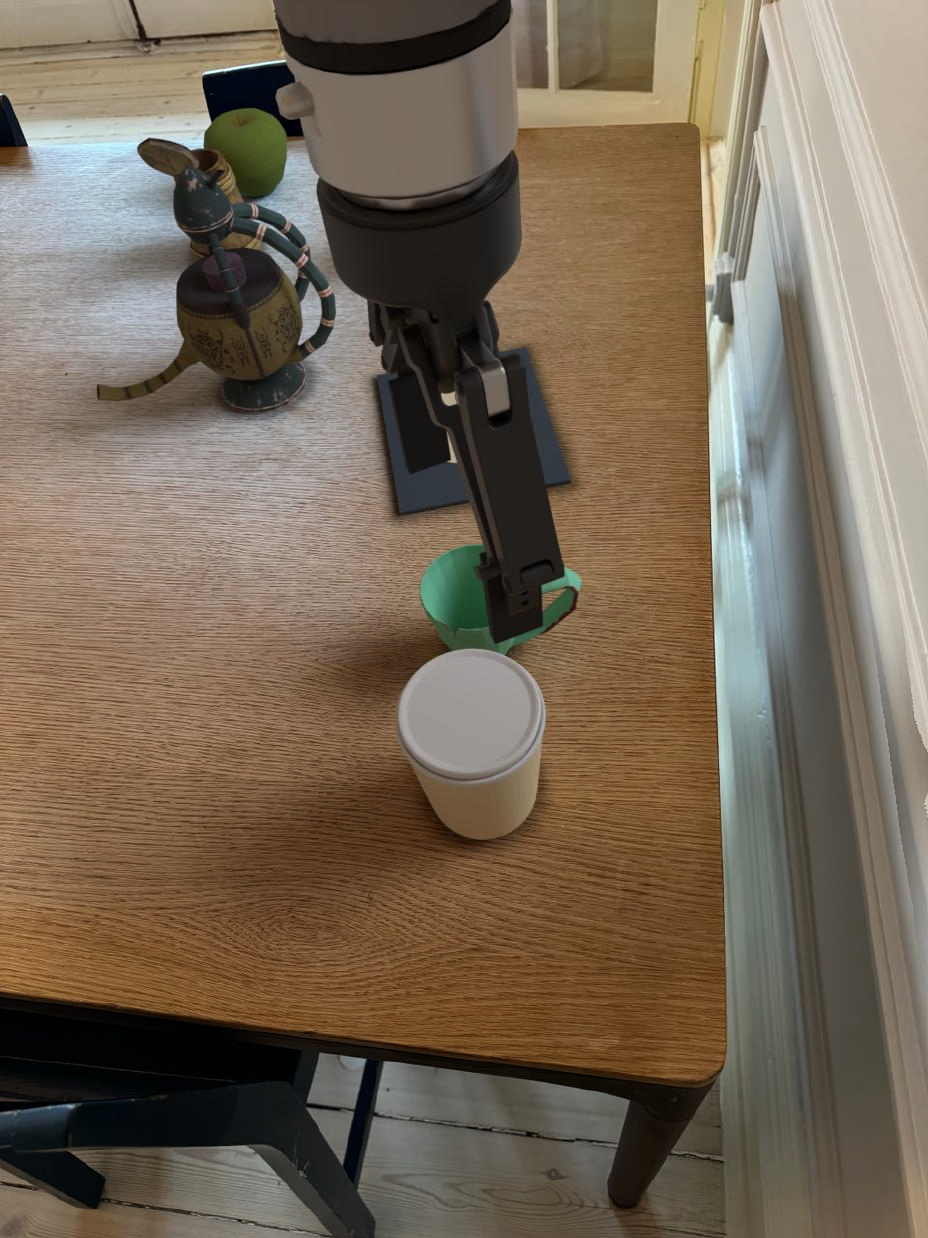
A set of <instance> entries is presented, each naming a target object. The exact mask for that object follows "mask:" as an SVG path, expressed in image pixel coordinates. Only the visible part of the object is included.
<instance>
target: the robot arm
mask: <svg viewBox="0 0 928 1238" xmlns="http://www.w3.org/2000/svg"><path fill="white" fill-rule="evenodd" d="M272 4H273V8H274V11H273V12H274V17H275V18H274V19H275V22H276V24H277V28H278V33H279V38H280V42H281V45H282V47H283V51H284V57H285V62H286V66H287V68H288V70H289V71H290V72H291V74H292V75H293V77H294V80H295V81H294V82H291V83H289V84H287V85H285V86H282V87H280V88H278V89H277V90H276V93H275V101H276V103H277V107H278V110H279V115H280V116H281V117H283V118H285V119H286V120H297V119H300V125H301V129H302V133H303V134H302V135H303V138H304V143H305V146H306V150H307V154H308V159H309V163H310V165H311V168H312V169H313V172H314V173H315V174H316V175H317V176H318V179H317V183H316V187H315V189H316V190H315V193H316V198H317V202H318V206H319V210H320V214H321V218H322V221H323V222H322V223H323V226H324V231H325V235H326V239H327V243H328V248H329V251H330V255H331V259H332V263H333V267H334V269H335V272H336V274H337V276H338V277H339V279H340V280H341V282H342V284H344V285H345V286H346V287H347V288H348V289H349V290H350V291H351V292H353V293H354V294H356V295H358V296H359V297H361V298H363V299H365V300H366V305H367V318H368V320H367V321H368V330H369V332H368V337H369V340H370V342H372V343H373V346H374V347H375V348H378V347H382V348H381V352H380V364H381V367H382V369H383V371H385V372H386V373H385V374H388V375H391V374H394V378H395V379H393V380H390V381H388V385H389V389H390V394H391V399H392V404H393V408H394V413H395V418H396V422H397V427H398V432H399V436H400V441H401V446H402V451H403V455H404V460H405V465H406V468H407V470H408V472H409V474H413V473H416V472H419V471H421V470H424V469H427V468H430V467H433V466H436V465H439V464H442V463H445V462H447V461H450V460H451V455H450V448H449V441H448V436H449V439H450V442H451V445H452V448H453V451H454V454H455V457H456V461H457V464H458V467H459V470H460V473H461V476H462V479H463V482H464V486H465V489H466V492H467V495H468V498H469V501H470V502H469V504H470V507H471V511H472V514H473V516H474V520H475V523H476V527H477V530H478V533H479V535H480V538H481V542H482V544H483V545H484V548H485V552H483V553H480V554H479V556H480V563H481V565H478V566H476V567H473V568H474V570H475V573H476V575H477V577H478V579H479V581H480V582H482V581H483V586H484V594H485V602H486V609H487V617H488V625H489V632H490V635H491V637H492V639H493V641H494V643H495V644H498V643H500V642H503V641H506V640H508V639H511V638H514V637H516V636H519V635H522V634H524V633H527V632H529V631H532V630H535V629H537V628H540V627H543V610H544V608H543V594H542V585H544V584H547V583H550V582H552V581H555V580H558V579H560V578H563V577H564V576H565V571H564V567H565V562H564V560H563V558H562V557H563V556H562V553H561V548H560V543H559V539H558V535H557V534H558V533H557V530H556V526H555V521H554V517H553V512H552V507H551V503H550V499H549V493H548V489H547V487H546V484H545V480H544V475H543V471H542V466H541V462H540V457H539V453H538V448H537V443H536V439H535V434H534V430H533V425H532V421H531V416H530V410H529V399H528V389H527V378H526V366H525V363H524V361H523V360H522V359H521V357H520V355H519V354H518V353H517V352H514V353H511V354H508V355H505V356H502V357H501V356H500V352H501V351H500V349H499V345H498V344H499V343H498V342H499V339H500V338H499V337H500V328H499V326H498V322H497V319H496V315H495V312H494V309H493V306H492V304H491V302H490V301H489V300H488V299H486V298H487V296H488V295H489V294H490V293H491V290H492V289H493V288H494V287H495V286H496V285H497V283H498V282H499V281H501V279H502V278H503V277H504V276H505V275H507V273H508V272H509V270H510V269H511V268H512V267H513V265H514V264H515V262H516V260H517V258H518V256H519V254H520V252H521V248H522V241H523V234H522V233H523V232H522V212H521V211H522V210H521V208H522V207H521V187H520V186H521V185H520V169H519V168H520V165H519V160H518V157H517V154H516V151H514V150H513V149H514V148H515V147H516V145H517V140H518V133H519V128H520V125H519V124H520V123H519V104H518V103H519V102H518V84H517V82H518V81H517V62H516V61H517V60H516V59H517V58H516V40H515V39H516V38H515V16H514V15H515V14H514V13H515V12H514V7H513V4H512V0H272ZM453 392H455V400H456V402H457V404H454V405H451V406H448V405H446V404H445V403H444V401H443V399H442V395H441V393H443V394H449V393H453ZM447 432H448V435H447Z"/></svg>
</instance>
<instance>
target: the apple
mask: <svg viewBox="0 0 928 1238" xmlns="http://www.w3.org/2000/svg"><path fill="white" fill-rule="evenodd" d="M202 147H203V149H206V148H212V149H216V150H218V151H220V152H221V153H222V154H223V156H224V158H225V160H226V162H227V163H228V164H229V165H230V167H231V169H232V172H233V174H234V176H235V180H236V182H235V183H236V186H237V188H238V191H239V193H240V195H243V196H247V197H250V198H260V197H263V196H266V195H269V194H271V193H273V192H274V190H275V189H276V188H277V187H278V186H279V184H280V183H281V182H282V180H283V179H284V175H285V170H286V164H287V159H288V137H287V133H286V130H285V128H284V127H283V126H282V124H281V123H280V121H279V120H278V119H277V118H276V117H275V116H274V115H272V114H271V113H268V112H266V111H264V110H261V109H258V108H255V107H251V108H247V107H246V108H239V109H233V110H230V111H226V112H223V113H221V114H219V116H216V117H215V119H214V120H213V121H212V122H211V123H210V125H208V127H207V129H205V131H204V133H203V146H202Z"/></svg>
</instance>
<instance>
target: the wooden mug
mask: <svg viewBox="0 0 928 1238" xmlns="http://www.w3.org/2000/svg"><path fill="white" fill-rule="evenodd" d="M136 152H137V154H138V155H139V157H140V158H141V160H142V161H143V162H144V163H145V164H146V165H147V166H148V167H150V168H152V169H153V170H156V171H157V172H160V173H162V174H164V175H168V176H170V177H172V178H173V180H174V186H176V183H177V180H178V177H179V175H180V173H181V172H182V171H183V169H184V168H185V167H186V165H187V166H190V167H193V168H196V169H199V170H201V171H202V172H204V173H205V174H206V175H208V176H209V177H211V176H212V175H213V173H214V172H215V171H216V170H221V169H222V170H225V173H223V174H222V175H221V176H220V177H219V178H218V180H217V184H218V185H219V186H220V188H221V189H222V190H223V191H224V193H225V194H226V196H227V198H228V199H229V201H230V203H231V204H235V203H245V202H244V200H243V198H242V194H240V193H239V191H238V188H237V186H236V183H235V182H236V180H235V176H234V174H233V172H232V169H231V167H230V165H229V164H228V163H227V162H226V160H225V158H224V156H223V154H222V153H221V152H220V151H218V150H216V149H212V148H206V149H204V148H194V149H190V148H189V147H187V146H186V145H183V144H181V143H178V142H175V141H172V140H168V139H164V138H156V137H148V138H146V139H144V140H143V141H141V142H140V143H139V144H138V145H137V148H136ZM248 220H252V219H248ZM189 239H190V241H189V247H190V251H191V255H192V258H193V263H194V262H195V261H197V260H198V259H200V258H202V257H204V256H207V255H210V251H209V248H208V247H209V246H208V245H199V244H197V243H195V242H194V241H193V240H192V239H191V238H190V237H189ZM220 244H221V246H222V248H223V249H224V250H227V249H231V248H251V249H256V250H260V251H262V249H263V242H262V241H260V240H258V239H255V238H253V237H251V236H247V235H243V234H239V233H234V232H233V233H231V234H229V235H228V237H227V238H226V239H224V240H223V241H221V242H220Z"/></svg>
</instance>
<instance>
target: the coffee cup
mask: <svg viewBox="0 0 928 1238" xmlns="http://www.w3.org/2000/svg"><path fill="white" fill-rule="evenodd" d="M546 716H547V714H546V703H545V700H544V696H543V693H542V691H541V689H540V687H539V685H538V683H537V681H536V680H535V679H534V677H533V676H532V674H530V673H529V671H528V670H527V669H525V668H524V667H523V666H522V665H521V664H519V663H517V661H515V660H513V659H512V658H510V657H508V656H506V655H505V656H504V655H502V654H499V653H497V652H493V651H489V650H483V649H461V650H456V651H452V650H451V651H448V652H445V653H443V654H440V655H438V656H436V657H434V658H432V659H431V660H428V661H427V662H426V663H425V664H423V665H422V666H421V667H420V668H418V670H416V671H415V673H414V674H412V675H411V677H410V678H409V680H408V681H407V683H406V684H405V686H404V687H403V689H402V690H401V693H400V695H399V697H398V699H397V703H396V707H395V712H394V730H395V736H396V740H397V742H398V745H399V747H400V749H401V751H402V753H403V754H404V756H405V758H406V759H407V760H408V761H409V764H410V765H411V768H412V770H413V772H414V774H415V775H416V778H417V780H418V782H419V783H420V786H421V788H422V790H423V792H424V793H425V795H426V797H427V800H428V801H429V803H430V805H431V807H432V809H433V810H434V813H435V814H436V815H437V817H438V819H440V821H441V822H442V823H443V825H445V826H446V827H447V828H448V829H449V830H451V831H452V832H454V833H455V834H457V835H460V836H461V837H465V838H468V839H472V840H483V841H486V840H487V841H488V840H494V839H498V838H501V837H503V836H505V835H509V834H510V833H512V832H513V831H514V830H516V829H518V827H520V826H521V825H522V824H523V823H524V822H525V820H527V818H528V816H529V815H530V813H531V812H532V810H533V808H534V805H535V803H536V798H537V793H538V788H539V777H540V769H541V768H540V767H541V756H542V746H543V744H542V743H543V735H544V732H545V727H546V719H547V718H546Z"/></svg>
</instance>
